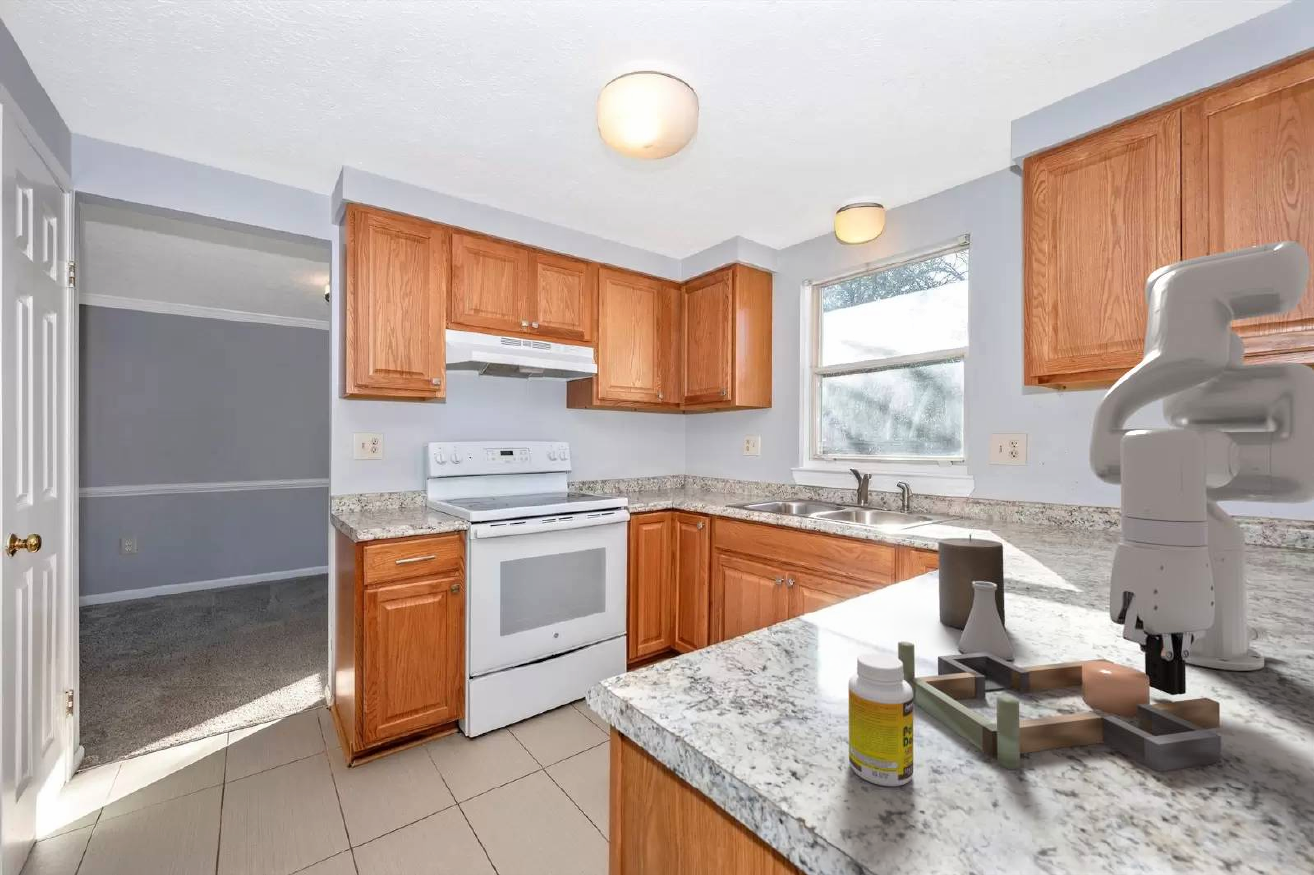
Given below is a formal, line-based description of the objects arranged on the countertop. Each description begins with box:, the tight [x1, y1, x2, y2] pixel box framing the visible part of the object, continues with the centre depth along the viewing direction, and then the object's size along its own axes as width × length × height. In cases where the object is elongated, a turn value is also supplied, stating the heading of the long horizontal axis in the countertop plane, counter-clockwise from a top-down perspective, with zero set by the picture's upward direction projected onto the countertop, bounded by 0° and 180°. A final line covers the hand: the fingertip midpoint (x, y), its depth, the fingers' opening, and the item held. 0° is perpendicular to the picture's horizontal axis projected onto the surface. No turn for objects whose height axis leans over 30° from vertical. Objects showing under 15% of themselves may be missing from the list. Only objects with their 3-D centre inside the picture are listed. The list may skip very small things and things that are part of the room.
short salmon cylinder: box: [1081, 661, 1151, 719], centre depth 64 cm, size 6×6×4 cm
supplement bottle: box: [848, 652, 914, 787], centre depth 51 cm, size 6×6×10 cm
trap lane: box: [897, 641, 1222, 773], centre depth 62 cm, size 28×23×6 cm
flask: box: [957, 581, 1015, 661], centre depth 80 cm, size 7×7×10 cm
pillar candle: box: [937, 533, 1006, 630], centre depth 94 cm, size 10×10×15 cm
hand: (1165, 689), depth 65 cm, fingers closed
